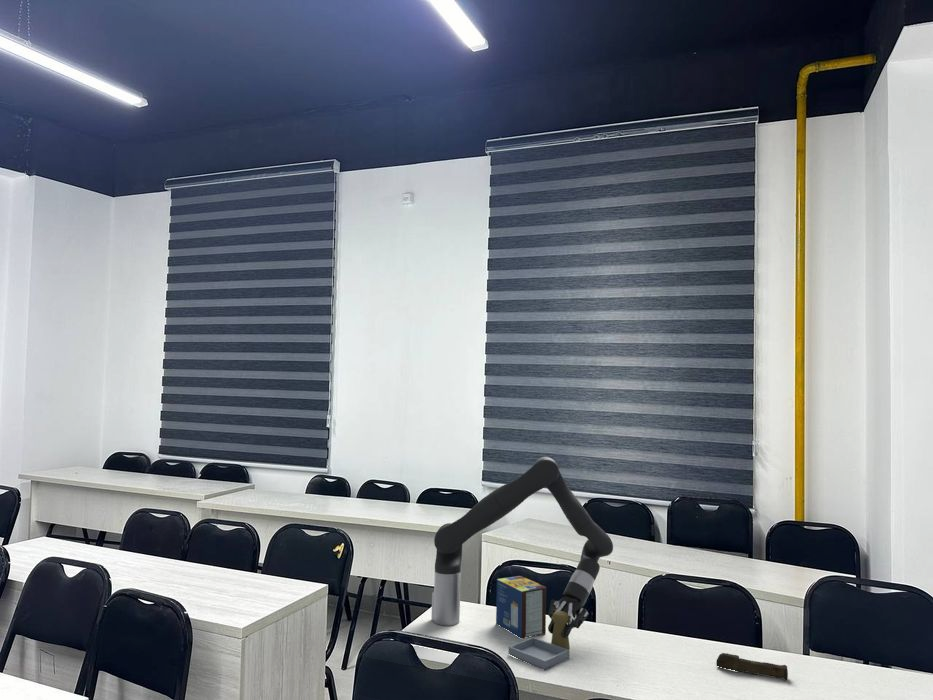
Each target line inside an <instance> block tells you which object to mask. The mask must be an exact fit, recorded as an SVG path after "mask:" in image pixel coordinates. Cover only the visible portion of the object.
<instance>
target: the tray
mask: <svg viewBox="0 0 933 700" xmlns="http://www.w3.org/2000/svg"><path fill="white" fill-rule="evenodd" d="M508 654H510V655H512V656H514V657H516V658H518V659H520V660H522V661H521V662H523V661H525V662H527V663H526V664H528V663H529V664H528V665H530V664H531V665H530V666H532V667H535V668H538V669H540V670H543V671H548V670H549V669H551V668H554V667H555V666H558V665H560V664H562V663H564V662H566V661H568V660H570V650H568V649H565V648H562V647H559V646H557V645H554V644H551V642H548V641H546V640H543V639H540V638H537V637H536V636H532V637H528V638H526V639H524V640H522V641H521V642H517V643H514V644H512V645H510V646H508ZM518 659H517V660H518ZM520 660H519V661H520ZM525 662H524V663H525Z"/></svg>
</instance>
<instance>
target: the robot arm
mask: <svg viewBox="0 0 933 700" xmlns="http://www.w3.org/2000/svg"><path fill="white" fill-rule="evenodd" d="M545 488H546V489H547V490H548V491H549V492H550V494H551V495H552V496H553V497H554V499H555V501H556V502H557V504H558V505H559V507H560V509H561V511H562V513H563V514H564V516H565V517H566V519H567V521H568V523H569V524H570V525H571V527H572V528H573V529H574V531H575V532H576V534H578V535H579V536H581V537H585V538H587V540H586V541H585V543H584V544H583V546H582V551H581V555H580V560H579V562H578V564H577V566H576V569H575V570H574V572H573V573H572V575H571V576H570V579H569V581H568V583H567V585H566V587H565V589H564V591H563V593H562V597H561V598H560V599H559V600H555V599H554V598H552V599H551V600H550V605H549V609H548V614H547V616H548V617H549V618H550V619H551V620H550V622H549V625H548V626H547V631H548V632H549V634H551V635H552V634H553V627H554V622H553V619H552V616H553V613H554V612H556V611H563V612H566V613H567V614H568V617H569V620H568V622H567V624H566V625H565V627H564V630H563V632H562V637H563V638H565V639H566V638H567V637H569V635H570V634H571V631H572V629H574V628H575V629H579V628H580V627H581V626H582V625H583V623H584V622H585V621H586V619H587V618H588V617H589V615H590V614H589V612H588V610H587V609H586V608H584V606H585V604H586V603H587V600H588V598H589V595H590V593H591V592H592V589H593V586H594V583H595V582H596V578H597V577H598V575H599V573H600V569H601V567H600V564H599V563H598V562H599V560H600V558H604V557H607V556H610V555H611V554H612V553H613V552H614V545H613V541H612V539H611V538H610V536H609V534H608V533H606V531H604V530H603V529H602V527H600V526H599V525H598V524H597V523H596V522H594V520H593V519H592V517H591V516H590V514H589V513H588V511H587V510H586V509H585V507H584V506H583V504H582V503H581V502H580V501H579V499H578V498H577V497H576V496H575V494H574V493H573V492H572V491H571V489H570V487H569V486H568V485H567V482H566V481H565V479H564V477H563V475H562V473H561V471H560V468H559V465H558V463H557V461H556V460H554V459H553V458H552V457H549V456H542V457H538V459H535V461H534V463H533V465H532V466H530V468H529V469H528V470H527V471H525V472H523V474H522V475H520V476H519V477H517V478H515V479H514V480H512V481H509V482H507V483H504V484H503V485H501V486H499V487H498V488H496V489H494V490H493V491H492V492H490V493H488V494H487V495H485V496H484V497H483V498H482V499H481V500H479V501H478V502H477V503H475V505H474V506H473V507H471V508H470V510H468V511H467V512H466V513H465V514H464V515H462V516H461V517H460V518H458V519H457V520H455V521H453V522H452V523H449V522H447V523H444V524H442V525H441V526H440V527H439V528H438V530H437V531H436V533H435V534H434V540H433V543H434V546H435V549H436V556H435V562H434V583H433V585H434V588H433V589H434V591H432V593H431V618H430V619H431V621H433V622H434V624H436V625H439V626H454V625H457V624H459V623H460V614H461V613H460V611H461V609H460V608H461V579H462V578H461V577H462V576H461V572H462V571H461V569H462V561H463V560H462V559H463V544H465V543H466V542H467V541H468V540H470V538H472V537H473V536H474V535H476V534H478V533H479V532H481V531H483V530H484V529H486V528H488V527H490V526H491V525H493V524H495V523H496V522H497V521H499V520H500V519H502V518H504V517H505V516H507V515H508V514H509V513H511V512H512V511H513V510H515V509H516V508H517V507H519V506H520V505H521V504H522V503H523V502H524V501H525V500H527V499H528V498H530V496H532V495H534V494H535V493H537V492H539V491H541V490H543V489H545Z"/></svg>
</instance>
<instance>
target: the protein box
mask: <svg viewBox="0 0 933 700" xmlns="http://www.w3.org/2000/svg"><path fill="white" fill-rule="evenodd" d="M495 601H496V604H495V605H496V611H495V613H496V615H495V625H497V624H498V625H500V626H501V627H500V626H499V627H500V628H502V627H503V628H505V629H507V630H509V631H510V632H512V633H513V634H515V635H517V636H518V637H520V638H523V639H526V638H525V637H528V638H530V637H529V636H532V637H536V636H535V635H537V636H541V635H540V634H542V635H545V633H546V632H547V631H546V630H547V626H546V624H547V621H546V619H547V614H546V613H547V587H546V586H545V585H542V584H540V583H538V582H536V581H533V580H531V579H529V578H527V577H524V576H522V575H516V576H515V575H514V576H509V577H502V578H497V579H496V600H495ZM498 625H497V626H498ZM503 628H502V629H503ZM505 629H504V630H505ZM507 630H506V631H507ZM510 632H509V633H510ZM512 633H511V634H512ZM513 634H512V635H513ZM515 635H514V636H515ZM517 636H516V637H517ZM518 637H517V638H518ZM520 638H519V639H520Z"/></svg>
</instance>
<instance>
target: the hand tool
mask: <svg viewBox="0 0 933 700" xmlns="http://www.w3.org/2000/svg"><path fill="white" fill-rule="evenodd" d="M717 666H719V667H722V668H726V669H731V670H735V671H738V672H743V671H744V673H749V674H755V673H756V674H757V675H760V676H765V675H766V676H767V677H771V678H775V677H776V678H775V679H783V680H784V679H785V680H787V681H788V679H789V676H788V675H789V671H788V666H787V665H786V664H776V663H775V664H774V663H770V662H764V661H763V662H761V661H756V660H750V659H745V658H741V657H740V656H739V655H737V654H731V653H725V652H722V653H720V654H719V655H718V657H717V658H716V667H717ZM719 667H718V668H719ZM785 680H784V681H785Z"/></svg>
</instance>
